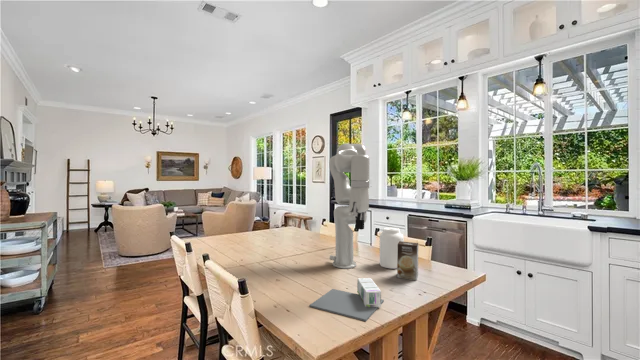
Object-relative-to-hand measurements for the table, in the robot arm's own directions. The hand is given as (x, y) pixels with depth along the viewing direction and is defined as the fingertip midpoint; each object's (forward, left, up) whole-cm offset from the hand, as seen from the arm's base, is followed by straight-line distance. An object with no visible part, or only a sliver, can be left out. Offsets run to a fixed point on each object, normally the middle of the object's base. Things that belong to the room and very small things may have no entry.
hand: (359, 228), depth 123 cm
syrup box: (+2, -1, -22) cm, 22 cm away
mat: (+1, -14, -26) cm, 30 cm away
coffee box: (+13, +27, -26) cm, 39 cm away
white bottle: (+1, +41, -26) cm, 48 cm away
